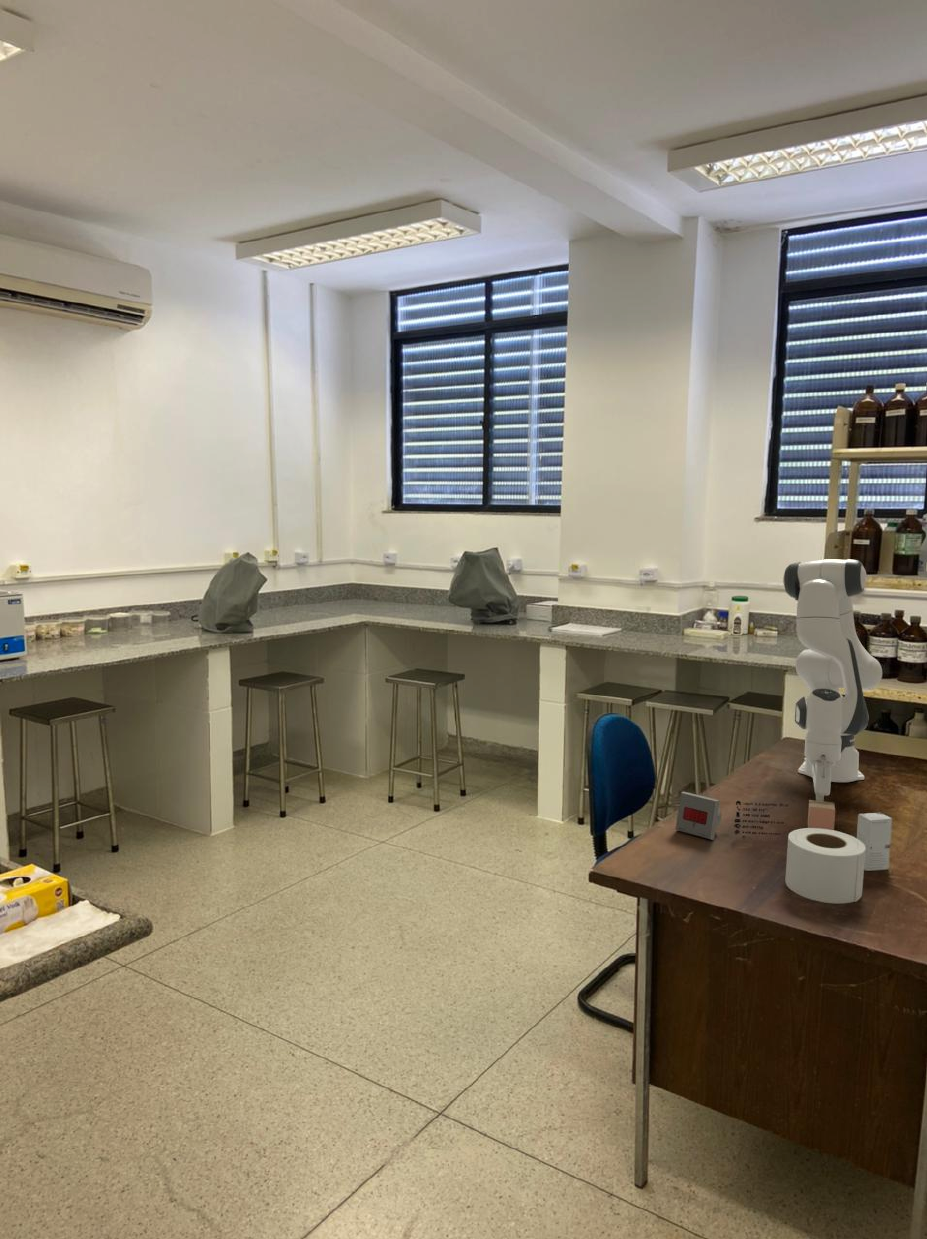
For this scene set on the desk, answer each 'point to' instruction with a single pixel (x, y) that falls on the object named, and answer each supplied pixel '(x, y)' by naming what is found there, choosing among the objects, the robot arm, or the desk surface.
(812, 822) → the birch cube
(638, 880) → the desk surface
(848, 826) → the desk surface
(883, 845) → the skincare box
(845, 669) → the robot arm
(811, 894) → the roll of tape
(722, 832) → the desk surface
